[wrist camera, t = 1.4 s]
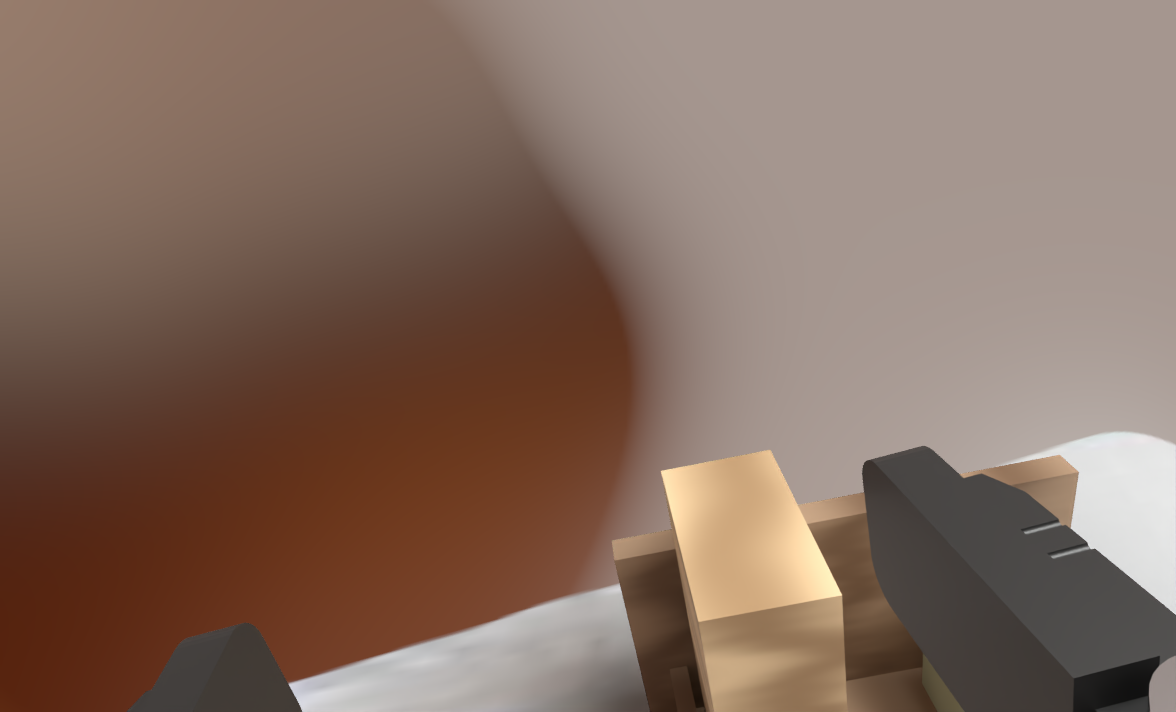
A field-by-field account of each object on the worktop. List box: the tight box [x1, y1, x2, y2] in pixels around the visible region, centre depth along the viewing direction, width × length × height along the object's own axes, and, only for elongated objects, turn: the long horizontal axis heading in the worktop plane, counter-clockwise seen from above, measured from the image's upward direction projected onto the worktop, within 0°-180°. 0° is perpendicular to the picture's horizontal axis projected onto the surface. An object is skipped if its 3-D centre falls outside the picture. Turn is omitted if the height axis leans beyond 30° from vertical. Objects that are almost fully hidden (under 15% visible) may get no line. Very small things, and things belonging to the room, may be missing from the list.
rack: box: [612, 455, 1079, 712], centre depth 28 cm, size 19×12×11 cm, turn 93°
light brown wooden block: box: [661, 450, 847, 712], centre depth 26 cm, size 4×7×15 cm, turn 3°
